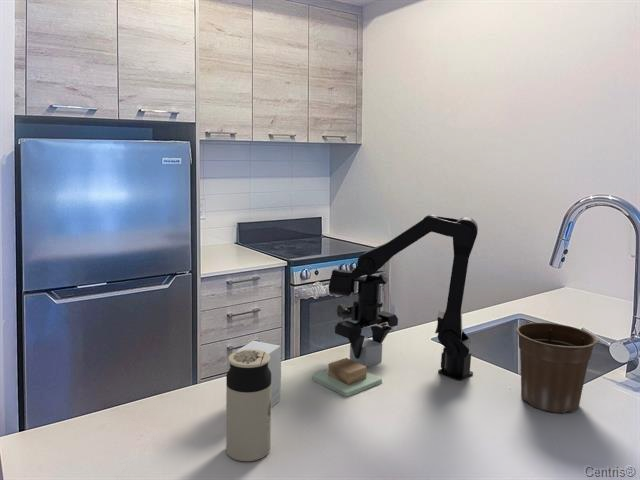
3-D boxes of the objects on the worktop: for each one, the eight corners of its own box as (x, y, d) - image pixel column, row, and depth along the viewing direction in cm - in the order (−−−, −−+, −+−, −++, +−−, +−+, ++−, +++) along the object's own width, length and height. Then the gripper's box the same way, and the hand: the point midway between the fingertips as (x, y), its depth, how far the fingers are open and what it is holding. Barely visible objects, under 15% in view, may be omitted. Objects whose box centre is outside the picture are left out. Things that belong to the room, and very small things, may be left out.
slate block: (381, 361, 137) (382, 344, 136) (365, 367, 133) (366, 349, 133) (365, 355, 142) (366, 337, 141) (349, 360, 138) (350, 342, 137)
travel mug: (220, 460, 91) (219, 363, 88) (234, 436, 99) (235, 346, 96) (263, 465, 90) (264, 367, 87) (275, 441, 97) (276, 350, 95)
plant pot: (509, 409, 113) (515, 339, 110) (511, 380, 128) (517, 318, 125) (592, 425, 107) (601, 351, 104) (584, 393, 122) (592, 328, 119)
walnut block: (366, 378, 124) (366, 366, 123) (348, 385, 120) (348, 373, 119) (345, 369, 129) (346, 357, 129) (328, 375, 125) (328, 363, 125)
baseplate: (381, 382, 124) (382, 378, 124) (346, 397, 116) (346, 392, 116) (346, 366, 133) (347, 363, 133) (311, 379, 125) (311, 375, 125)
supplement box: (281, 399, 114) (282, 345, 112) (264, 414, 108) (265, 356, 106) (253, 392, 117) (253, 339, 115) (234, 406, 111) (234, 350, 109)
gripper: (370, 286, 147) (367, 339, 149) (321, 297, 135) (319, 354, 137) (400, 295, 139) (397, 350, 141) (351, 307, 126) (349, 367, 129)
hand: (365, 355), depth 137 cm, fingers open, 7 cm apart
